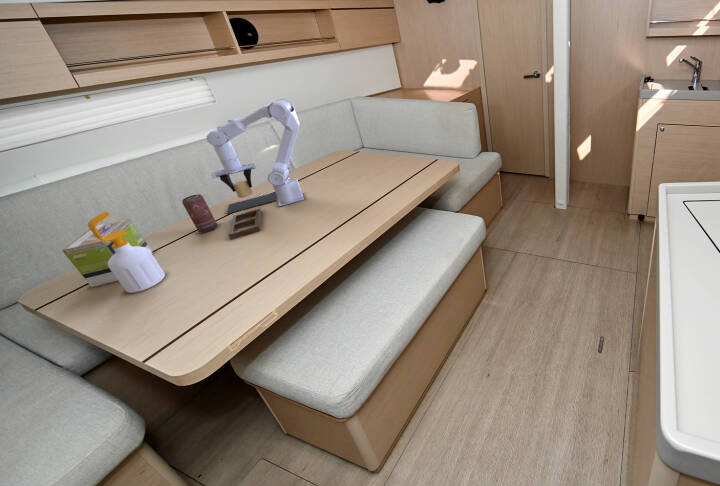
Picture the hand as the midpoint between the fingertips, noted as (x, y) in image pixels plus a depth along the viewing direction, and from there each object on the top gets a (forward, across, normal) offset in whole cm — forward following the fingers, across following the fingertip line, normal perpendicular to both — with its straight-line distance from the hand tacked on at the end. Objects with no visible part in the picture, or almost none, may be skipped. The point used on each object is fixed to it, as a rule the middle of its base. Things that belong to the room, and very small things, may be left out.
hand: (242, 188), depth 146 cm
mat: (+9, 0, +6) cm, 11 cm away
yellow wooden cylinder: (+3, 0, 0) cm, 3 cm away
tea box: (+10, -35, -23) cm, 43 cm away
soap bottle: (+10, -26, -38) cm, 47 cm away
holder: (+9, -1, -16) cm, 19 cm away
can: (+10, -14, -9) cm, 19 cm away
